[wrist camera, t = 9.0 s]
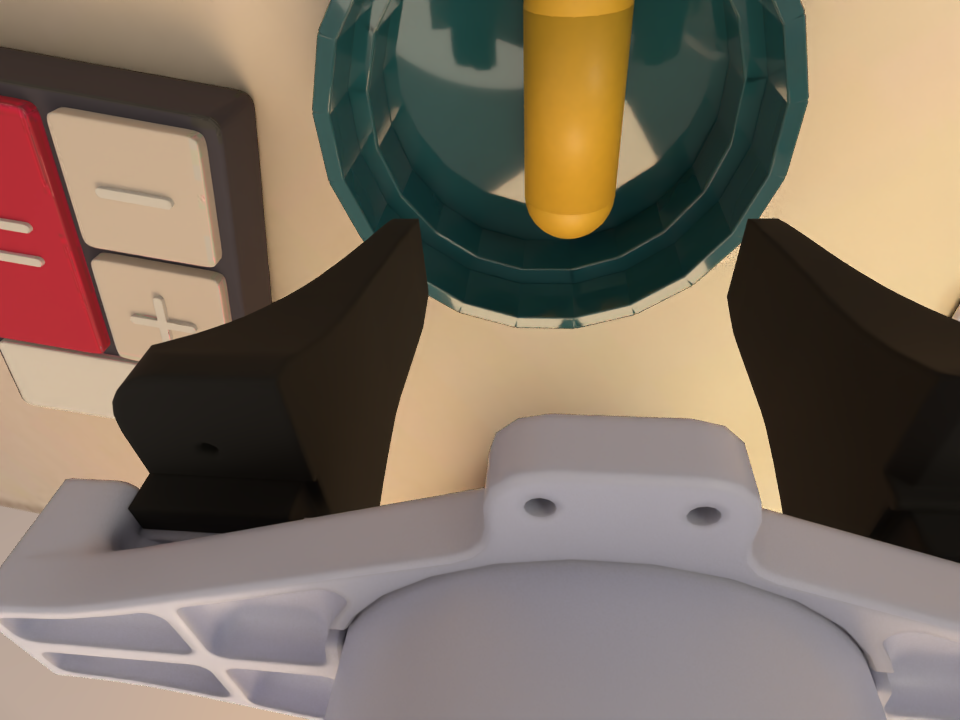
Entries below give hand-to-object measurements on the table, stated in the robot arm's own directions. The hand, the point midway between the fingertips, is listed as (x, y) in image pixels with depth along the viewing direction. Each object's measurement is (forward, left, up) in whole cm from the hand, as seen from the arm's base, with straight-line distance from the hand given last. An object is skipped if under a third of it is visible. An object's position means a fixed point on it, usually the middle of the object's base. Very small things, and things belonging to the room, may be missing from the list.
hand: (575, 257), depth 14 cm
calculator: (-5, +18, -9) cm, 21 cm away
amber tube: (+1, +1, -8) cm, 8 cm away
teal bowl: (+1, +1, -9) cm, 9 cm away
